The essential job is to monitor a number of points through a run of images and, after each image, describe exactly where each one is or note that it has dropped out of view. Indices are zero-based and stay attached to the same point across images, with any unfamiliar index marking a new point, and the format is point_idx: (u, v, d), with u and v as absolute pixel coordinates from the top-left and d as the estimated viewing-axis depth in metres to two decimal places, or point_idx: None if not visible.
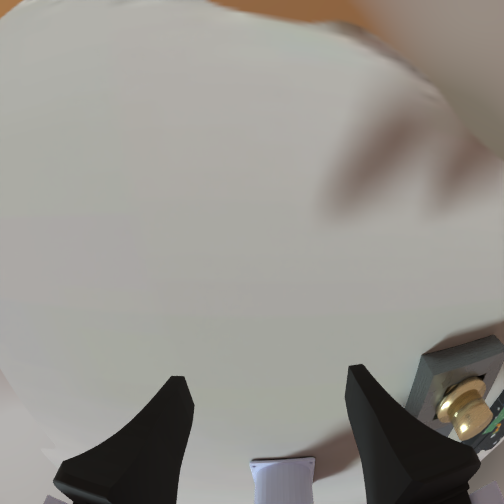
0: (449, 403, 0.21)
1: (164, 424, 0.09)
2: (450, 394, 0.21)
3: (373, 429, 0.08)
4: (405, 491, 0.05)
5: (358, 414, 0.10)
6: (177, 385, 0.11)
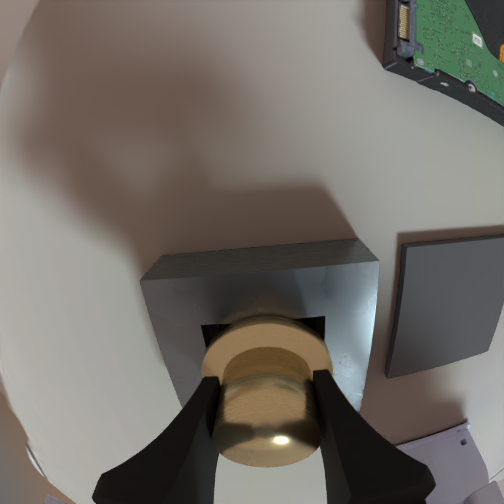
0: None
1: (204, 427, 0.09)
2: None
3: (329, 437, 0.08)
4: None
5: (320, 420, 0.10)
6: (213, 386, 0.11)
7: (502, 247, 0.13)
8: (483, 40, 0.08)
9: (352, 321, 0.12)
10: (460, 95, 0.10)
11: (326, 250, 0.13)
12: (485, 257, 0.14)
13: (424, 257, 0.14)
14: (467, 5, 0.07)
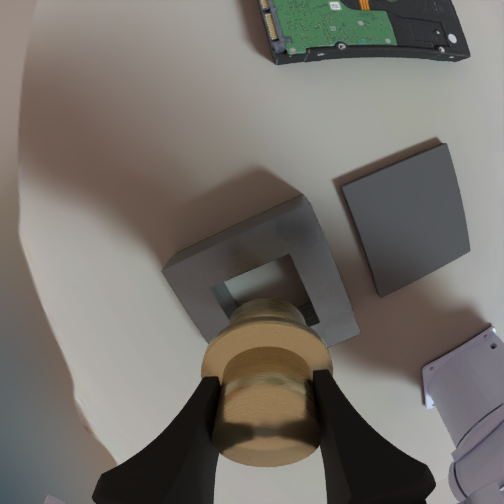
0: None
1: (203, 427, 0.09)
2: None
3: (329, 437, 0.08)
4: None
5: (320, 420, 0.10)
6: (213, 386, 0.11)
7: (434, 157, 0.17)
8: (340, 2, 0.13)
9: (311, 251, 0.18)
10: (339, 54, 0.15)
11: (277, 209, 0.18)
12: (420, 171, 0.18)
13: (360, 189, 0.18)
14: None
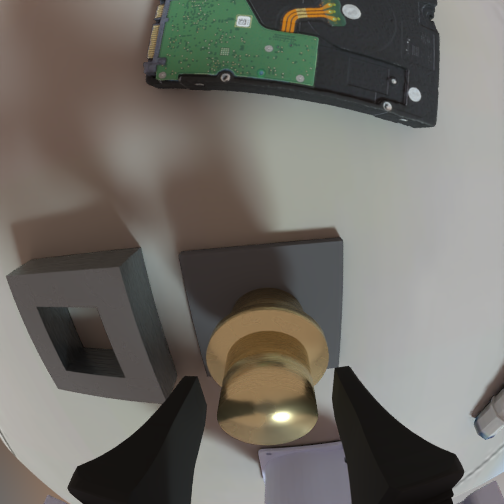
0: None
1: (179, 425, 0.09)
2: None
3: (356, 432, 0.08)
4: (383, 497, 0.05)
5: (343, 416, 0.10)
6: (191, 385, 0.11)
7: (316, 253, 0.16)
8: (253, 18, 0.11)
9: (117, 314, 0.15)
10: (228, 87, 0.13)
11: (104, 257, 0.16)
12: (288, 265, 0.16)
13: (200, 264, 0.16)
14: None
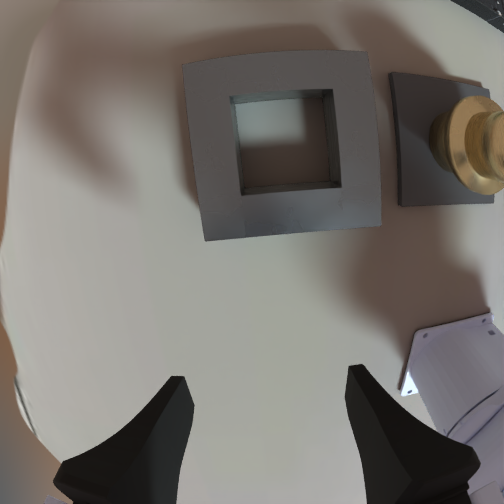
0: (476, 180, 0.13)
1: (164, 424, 0.09)
2: (461, 179, 0.13)
3: (373, 429, 0.08)
4: (405, 491, 0.05)
5: (358, 414, 0.10)
6: (177, 385, 0.11)
7: (477, 93, 0.14)
8: None
9: (356, 97, 0.13)
10: None
11: None
12: (463, 97, 0.15)
13: (408, 82, 0.15)
14: None
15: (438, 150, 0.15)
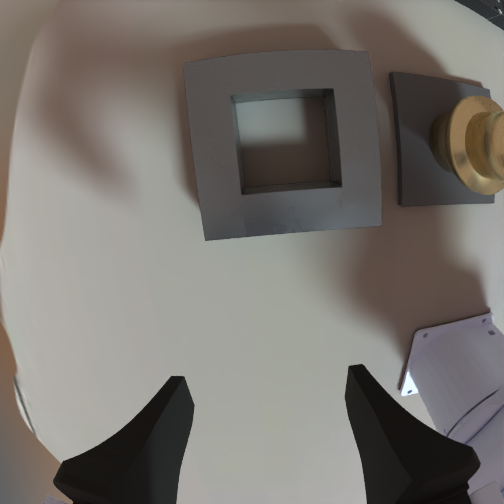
0: (477, 180, 0.13)
1: (164, 424, 0.09)
2: (461, 179, 0.13)
3: (373, 429, 0.08)
4: (405, 491, 0.05)
5: (358, 414, 0.10)
6: (177, 385, 0.11)
7: (477, 93, 0.14)
8: None
9: (357, 96, 0.13)
10: None
11: None
12: (464, 97, 0.15)
13: (409, 82, 0.15)
14: None
15: (439, 150, 0.15)
